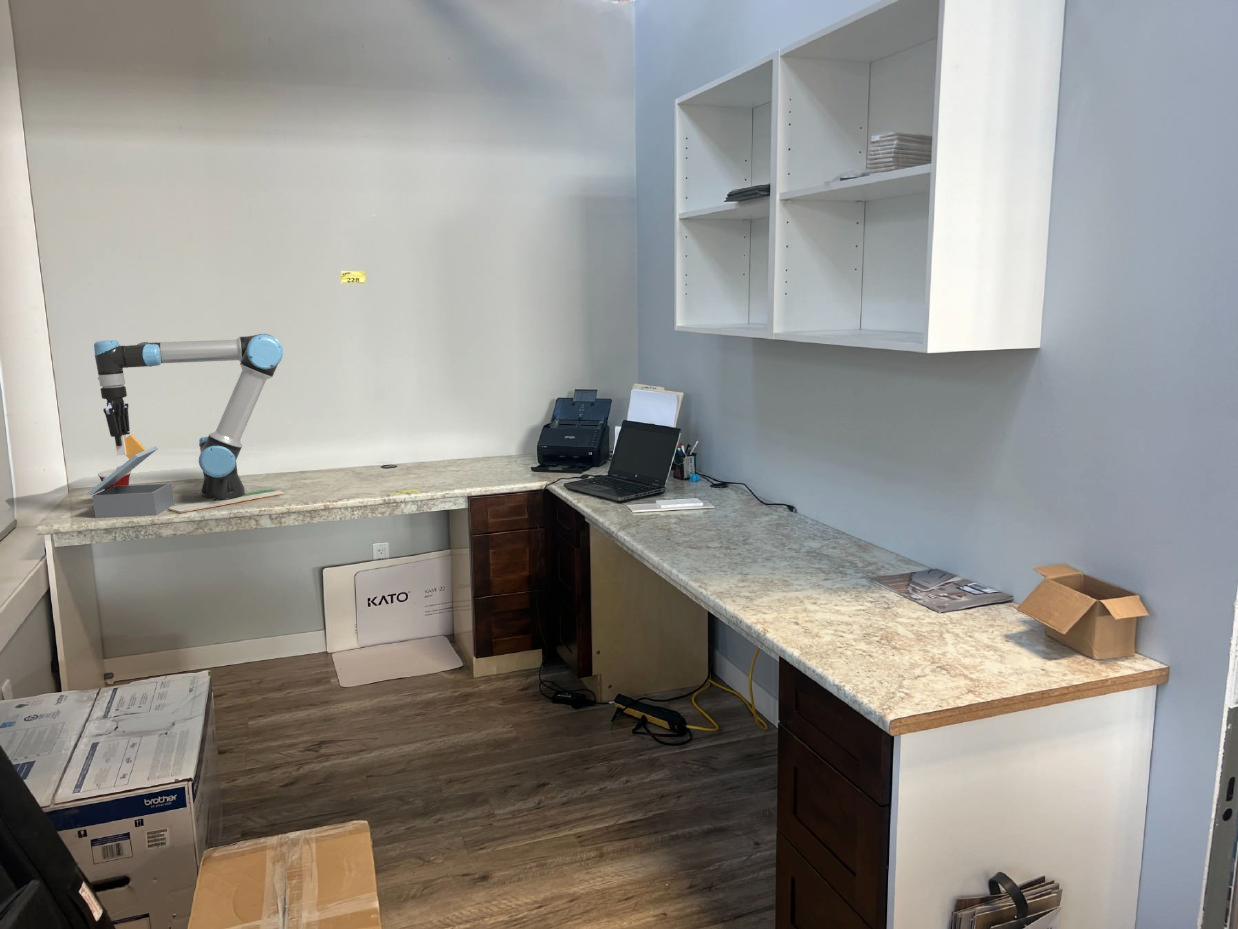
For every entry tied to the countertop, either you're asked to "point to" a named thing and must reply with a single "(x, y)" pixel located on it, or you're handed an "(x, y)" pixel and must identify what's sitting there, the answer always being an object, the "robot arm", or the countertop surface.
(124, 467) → the lid
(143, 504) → the tub
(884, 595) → the countertop surface
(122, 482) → the plastic cup
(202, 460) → the robot arm
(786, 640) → the countertop surface
